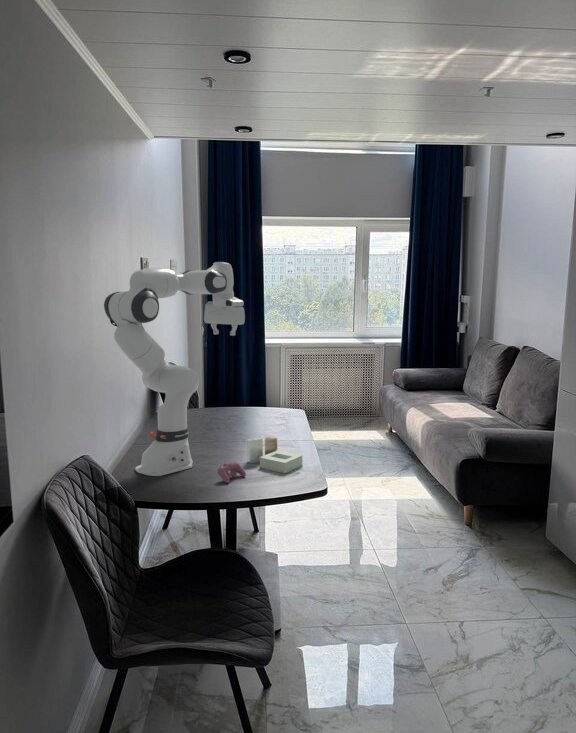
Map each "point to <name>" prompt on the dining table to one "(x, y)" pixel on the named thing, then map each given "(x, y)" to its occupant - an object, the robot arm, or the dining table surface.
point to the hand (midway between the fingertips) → (224, 334)
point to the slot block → (281, 461)
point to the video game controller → (233, 469)
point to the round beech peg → (270, 445)
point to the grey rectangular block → (254, 449)
